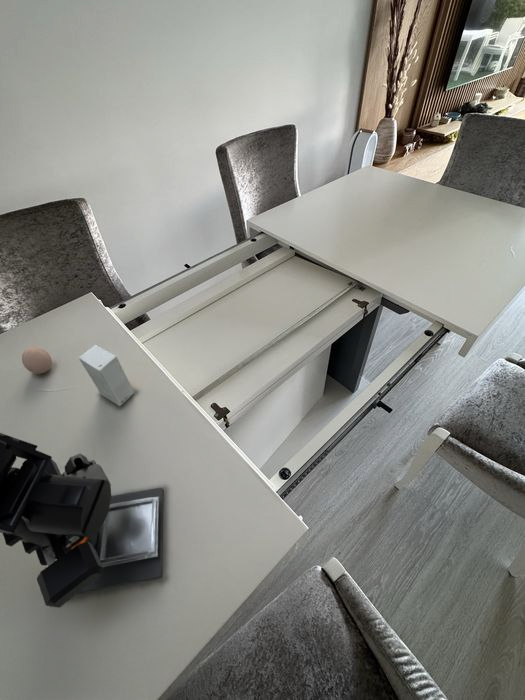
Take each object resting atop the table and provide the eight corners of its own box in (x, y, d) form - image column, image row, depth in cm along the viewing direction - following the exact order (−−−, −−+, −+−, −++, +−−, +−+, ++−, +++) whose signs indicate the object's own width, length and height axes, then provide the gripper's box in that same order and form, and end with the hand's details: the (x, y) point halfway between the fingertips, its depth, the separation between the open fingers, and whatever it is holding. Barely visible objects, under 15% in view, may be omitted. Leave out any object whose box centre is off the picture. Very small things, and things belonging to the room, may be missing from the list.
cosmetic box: (135, 392, 73) (117, 356, 64) (120, 407, 71) (99, 371, 62) (115, 380, 75) (95, 343, 66) (100, 394, 73) (76, 358, 64)
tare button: (70, 553, 52) (66, 550, 51) (73, 534, 54) (69, 531, 53) (88, 549, 52) (84, 547, 51) (91, 531, 54) (87, 528, 53)
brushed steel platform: (96, 568, 50) (93, 567, 49) (104, 506, 55) (101, 504, 55) (157, 556, 51) (155, 555, 50) (159, 497, 56) (157, 494, 55)
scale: (57, 598, 50) (47, 596, 48) (73, 505, 58) (65, 499, 56) (162, 577, 52) (157, 574, 49) (163, 490, 60) (159, 483, 58)
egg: (61, 366, 78) (47, 346, 73) (41, 382, 75) (24, 362, 70) (47, 357, 80) (32, 337, 74) (26, 372, 77) (9, 352, 72)
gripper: (122, 526, 39) (155, 554, 51) (64, 413, 48) (103, 460, 60) (16, 604, 34) (79, 616, 46) (-26, 463, 44) (36, 503, 55)
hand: (77, 539), depth 52 cm, fingers closed, pressing on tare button
